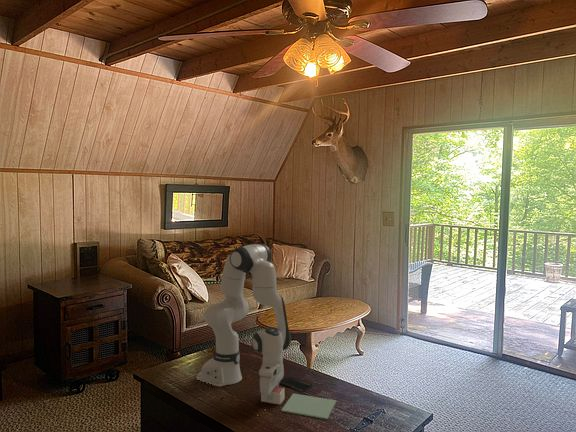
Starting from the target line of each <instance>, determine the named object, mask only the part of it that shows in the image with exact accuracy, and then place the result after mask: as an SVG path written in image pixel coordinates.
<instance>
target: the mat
mask: <svg viewBox="0 0 576 432" xmlns="http://www.w3.org/2000/svg"><path fill="white" fill-rule="evenodd" d="M336 403H337V400H334V399H329V398H325V397H324V398H323V397H317V396H310V395H305V394H297V393H292V394H291V396H290V397H289V399H288V400H287V401H286V402H285V404H284V405H283V407H282V408H281V410H280V412H282V413H283V412H284V413H288V414H294V415H300V416H306V417H310V418H316V419H323V420H328V419H329V417H330V415H331V413H332V411H333V409H334V407H335V405H336Z"/></svg>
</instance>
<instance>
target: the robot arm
mask: <svg viewBox="0 0 576 432" xmlns="http://www.w3.org/2000/svg"><path fill="white" fill-rule="evenodd" d="M271 259H272V251H271V249H270V247H269V246H268V245H267V244H264V243H256V244H255V243H252V244H247V245H243V246H239V247H235V248H234V249H232V251H231V252H230V253H229V255H228V256H227V257H226V260H225V263H224V266H223V270H222V274H221V281H220V287H219V288H220V291H221V292H222V293H223V294H224V295H225V298H224V299H225V300H224V301H220V302H216V303H214V304H211V305H210V306H208V307H207V308H206V309H205V310H204V314H203V317H204V321H205V323H206V324H207V326H208V327H210V328H212V330H213V333H214V337H215V349H214V350H213V352H212V353H211V356H212V358H209V359H208V360H207V361H206V362H205V363H204V364H203V365H202V367H201V370H200V372H199V373H198V374H196V377H195V378H196V379H197V380H200V381H199V382H201V381H202V383H204V382H206V383H205V384H208V383H209V384H208V385H211V384H212V386H214V387H219V388H220V387H223V386H224V387H225V386H227V385H228V386H229V385H234V384H237V383H239V382H241V381H242V379H243V376H242V373H241V369H240V368H241V367H240V357H241V356H240V355H241V354H240V353H241V352H240V349H239V347H240V346H239V345H240V343H239V341H240V340H239V334H238V333H237V332H236V331H235V330H234V329H233V328H232V323H235V322H237V321H241V320H242V319H243V318H246V316H247V315H248V314H249V312H250V305H249V303H248V301H247V300H246V299H245V297H244V286H245V282H246V281H245V280H246V275H247V274H248V273H250V274H251V277H252V288H251V289H252V297H253V299H254V300H255V301H256V302H257V303H259V304H260V305H262V306H266V307H269V308H272V309H273V310H274V313H275V314H274V315H275V319H276V325H277V327H274V326H270V327H266V328H264V330H259V331H256V332H254V334H253V336H252V338H251V347H252V349H253V350H254V351H255V352H257V353H258V354H262V356H263V357H262V364H261V367H260V369H259V371H258V376H259V392H260V395H261V394H263V395H267V399H268V400H271V399H272V395H271V393H272V390H273V389H274V388H275V387H280V386H279V385H280V381H282V380H283V378H284V375H285V371H284V369H285V367H284V363H283V362H284V360H283V359H284V358H283V357H284V356H283V351H285V350H286V351H287V349H288V348H289V346H290V345H291V343H292V337H291V333H290V329H289V324H288V316H287V311H286V307H285V306H286V305H285V302H284V298H283V296H282V294H280V293H279V292H278V290H277V274H276V268H275V265H274V264H273V263H272V262H271ZM196 379H195V380H196ZM197 380H196V381H197Z"/></svg>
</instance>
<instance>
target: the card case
mask: <svg viewBox="0 0 576 432" xmlns="http://www.w3.org/2000/svg"><path fill="white" fill-rule="evenodd" d="M285 393H286V392H285V387H280V386H278V387H275V388H274V389H273V390H272V393H271V395H272V399H271V400H268V399H267V395H263V394H261V393H260V397H261V398H260V402H262V403H263V402H264V403H267V404H268V403H269V404H274V405H281V404H282V403H283V402H284V401H285V400H286V399H285V397H286V396H285Z"/></svg>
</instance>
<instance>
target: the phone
mask: <svg viewBox="0 0 576 432" xmlns="http://www.w3.org/2000/svg"><path fill="white" fill-rule="evenodd" d="M279 385H280V386H284V387H287V388H289V389H294V390H296V391H299V392H302V393H304V392H307V391H309V390H310V389H312V388H313V384H311V383H308V382H306V381H303V380H300V379H296V378H293V377H291V376H290V377H288V376H287V377H285V378H284V379H283V378H282V380H281V381H280V382H279Z"/></svg>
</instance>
